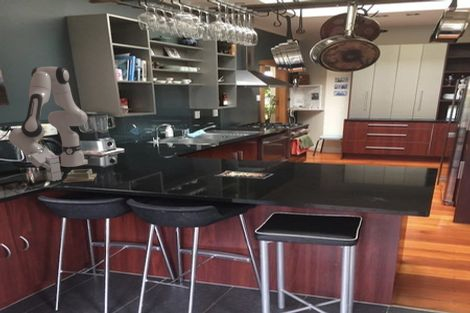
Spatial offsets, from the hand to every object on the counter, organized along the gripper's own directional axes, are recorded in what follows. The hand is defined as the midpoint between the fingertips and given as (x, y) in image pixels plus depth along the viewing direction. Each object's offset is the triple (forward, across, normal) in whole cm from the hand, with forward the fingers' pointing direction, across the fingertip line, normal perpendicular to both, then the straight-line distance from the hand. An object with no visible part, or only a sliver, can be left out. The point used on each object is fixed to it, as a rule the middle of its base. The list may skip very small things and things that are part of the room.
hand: (53, 166), depth 196 cm
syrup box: (+5, 0, +6) cm, 8 cm away
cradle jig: (+16, 0, -5) cm, 17 cm away
